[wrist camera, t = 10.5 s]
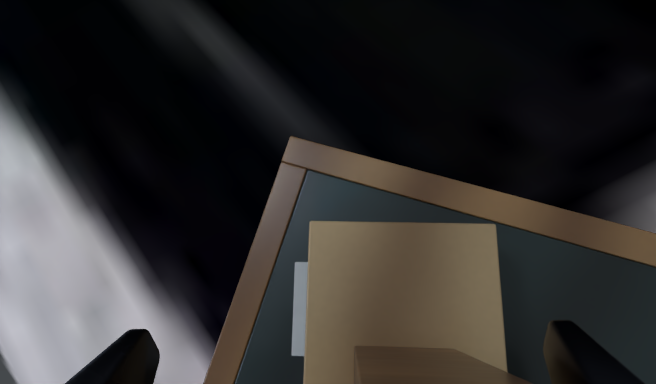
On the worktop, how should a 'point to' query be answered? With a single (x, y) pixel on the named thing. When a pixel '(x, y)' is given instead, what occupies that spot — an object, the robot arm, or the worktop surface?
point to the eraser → (404, 304)
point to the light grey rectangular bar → (299, 308)
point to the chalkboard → (442, 207)
